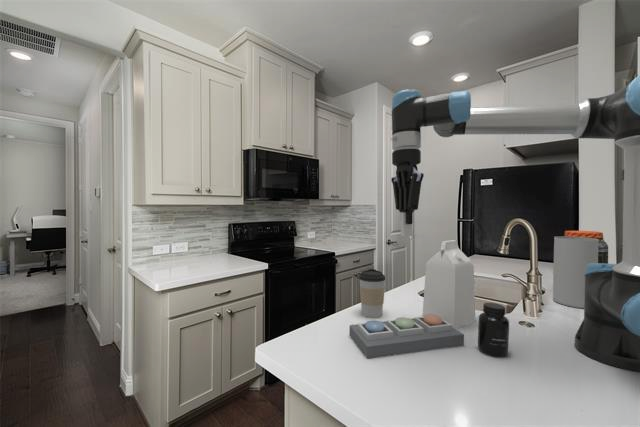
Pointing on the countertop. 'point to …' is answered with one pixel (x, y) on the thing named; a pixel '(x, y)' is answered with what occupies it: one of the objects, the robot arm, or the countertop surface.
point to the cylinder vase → (572, 268)
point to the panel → (405, 338)
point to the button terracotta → (433, 320)
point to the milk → (450, 286)
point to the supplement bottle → (493, 330)
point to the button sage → (404, 323)
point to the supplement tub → (596, 235)
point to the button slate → (374, 326)
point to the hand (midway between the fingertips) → (406, 235)
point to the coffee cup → (372, 293)
